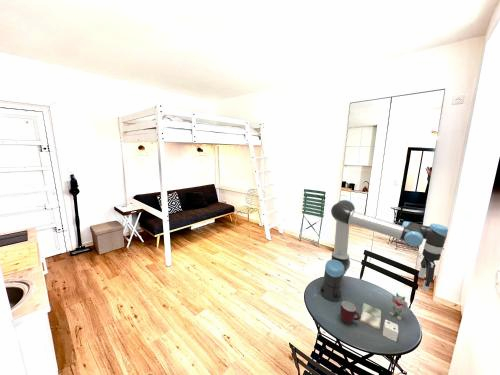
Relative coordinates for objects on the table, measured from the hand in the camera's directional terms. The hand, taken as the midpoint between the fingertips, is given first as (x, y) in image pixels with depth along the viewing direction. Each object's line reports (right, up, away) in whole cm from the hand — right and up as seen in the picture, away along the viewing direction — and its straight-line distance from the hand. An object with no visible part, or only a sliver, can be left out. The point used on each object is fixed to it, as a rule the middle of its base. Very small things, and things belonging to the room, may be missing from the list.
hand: (422, 283), depth 118 cm
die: (-24, -26, -6) cm, 36 cm away
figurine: (-10, -24, +8) cm, 27 cm away
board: (-27, -23, +6) cm, 36 cm away
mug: (-43, -23, +2) cm, 49 cm away
